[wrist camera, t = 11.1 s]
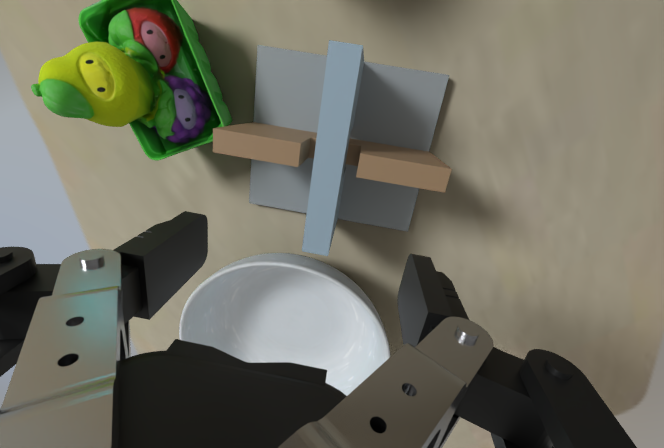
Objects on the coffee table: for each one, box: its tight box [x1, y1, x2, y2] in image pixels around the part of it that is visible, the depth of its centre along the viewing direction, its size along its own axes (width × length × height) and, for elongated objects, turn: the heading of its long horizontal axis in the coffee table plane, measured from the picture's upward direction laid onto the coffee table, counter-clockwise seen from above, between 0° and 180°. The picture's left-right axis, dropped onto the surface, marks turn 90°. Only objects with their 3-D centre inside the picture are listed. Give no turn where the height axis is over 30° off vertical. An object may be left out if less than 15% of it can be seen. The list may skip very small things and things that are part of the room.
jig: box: [213, 45, 452, 231], centre depth 25 cm, size 14×16×9 cm
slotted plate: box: [302, 40, 364, 256], centre depth 24 cm, size 14×2×8 cm, turn 171°
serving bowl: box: [179, 253, 390, 396], centre depth 33 cm, size 21×21×7 cm
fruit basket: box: [31, 0, 232, 160], centre depth 23 cm, size 11×9×11 cm
